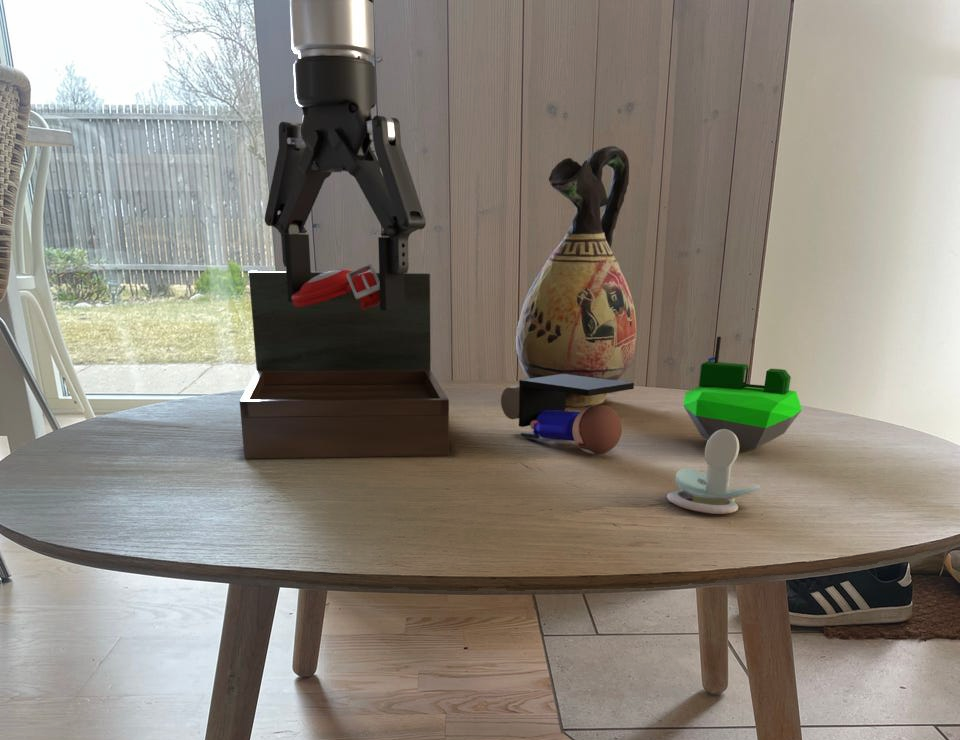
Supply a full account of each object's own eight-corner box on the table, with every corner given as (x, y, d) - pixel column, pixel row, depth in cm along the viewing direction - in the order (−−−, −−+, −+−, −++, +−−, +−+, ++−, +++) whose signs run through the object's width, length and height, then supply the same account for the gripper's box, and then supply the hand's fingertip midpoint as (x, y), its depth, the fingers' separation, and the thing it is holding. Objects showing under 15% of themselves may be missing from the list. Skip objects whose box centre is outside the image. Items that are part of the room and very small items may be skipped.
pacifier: (722, 524, 73) (765, 509, 77) (730, 446, 70) (775, 434, 74) (650, 504, 78) (694, 490, 82) (655, 430, 75) (701, 419, 79)
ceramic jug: (577, 416, 112) (593, 137, 100) (490, 398, 123) (495, 143, 110) (662, 401, 123) (687, 147, 110) (576, 386, 133) (590, 152, 121)
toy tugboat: (666, 451, 96) (677, 341, 91) (697, 431, 105) (708, 330, 101) (784, 466, 91) (802, 350, 86) (805, 444, 100) (823, 338, 96)
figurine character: (497, 448, 102) (588, 460, 90) (494, 377, 100) (587, 380, 88) (544, 441, 106) (637, 452, 94) (542, 373, 103) (638, 375, 92)
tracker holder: (268, 294, 93) (321, 265, 100) (286, 337, 95) (336, 306, 102) (366, 269, 87) (414, 240, 94) (382, 316, 89) (428, 284, 96)
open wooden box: (448, 455, 93) (449, 285, 86) (244, 458, 90) (228, 283, 83) (430, 415, 112) (429, 273, 105) (261, 416, 109) (249, 271, 102)
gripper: (463, 53, 81) (462, 311, 90) (275, 73, 95) (290, 296, 103) (407, 40, 76) (411, 316, 84) (216, 64, 89) (236, 300, 98)
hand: (344, 305), depth 94 cm, fingers closed on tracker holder, 12 cm apart
